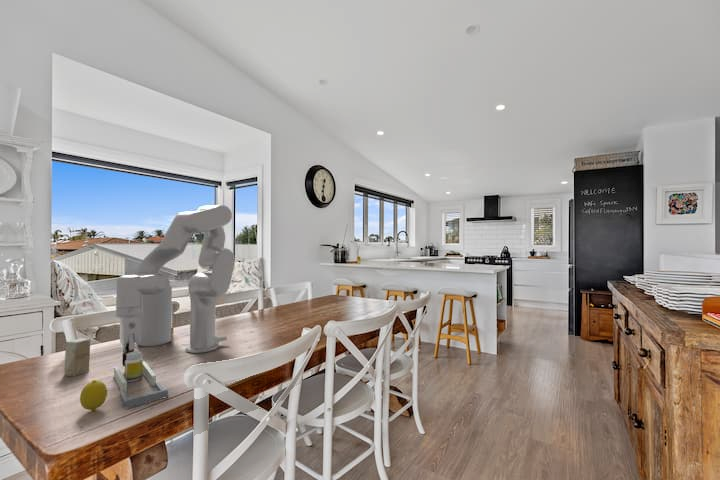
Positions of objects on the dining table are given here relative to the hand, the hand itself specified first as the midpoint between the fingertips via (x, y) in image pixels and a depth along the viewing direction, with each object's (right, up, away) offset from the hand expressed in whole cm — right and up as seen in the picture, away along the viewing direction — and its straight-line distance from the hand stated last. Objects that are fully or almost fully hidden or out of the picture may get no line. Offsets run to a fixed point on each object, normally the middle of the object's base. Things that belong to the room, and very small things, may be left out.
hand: (128, 364), depth 115 cm
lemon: (+9, -2, -27) cm, 29 cm away
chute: (+7, -2, -8) cm, 11 cm away
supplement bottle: (+6, -2, -7) cm, 9 cm away
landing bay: (+17, -2, -18) cm, 25 cm away
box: (-16, -2, -2) cm, 16 cm away
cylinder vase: (-11, -3, +32) cm, 34 cm away
